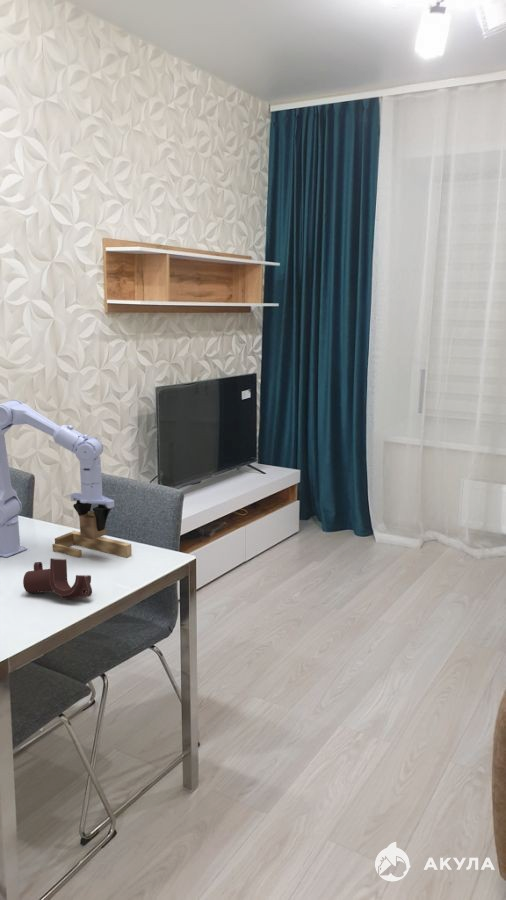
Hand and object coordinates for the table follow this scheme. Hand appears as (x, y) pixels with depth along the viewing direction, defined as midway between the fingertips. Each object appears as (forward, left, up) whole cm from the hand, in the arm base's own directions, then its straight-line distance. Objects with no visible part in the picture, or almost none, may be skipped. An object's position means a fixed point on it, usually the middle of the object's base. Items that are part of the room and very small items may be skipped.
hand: (93, 528), depth 203 cm
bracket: (+11, -24, -9) cm, 28 cm away
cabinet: (0, 0, -2) cm, 2 cm away
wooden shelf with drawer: (-3, +2, -8) cm, 9 cm away
